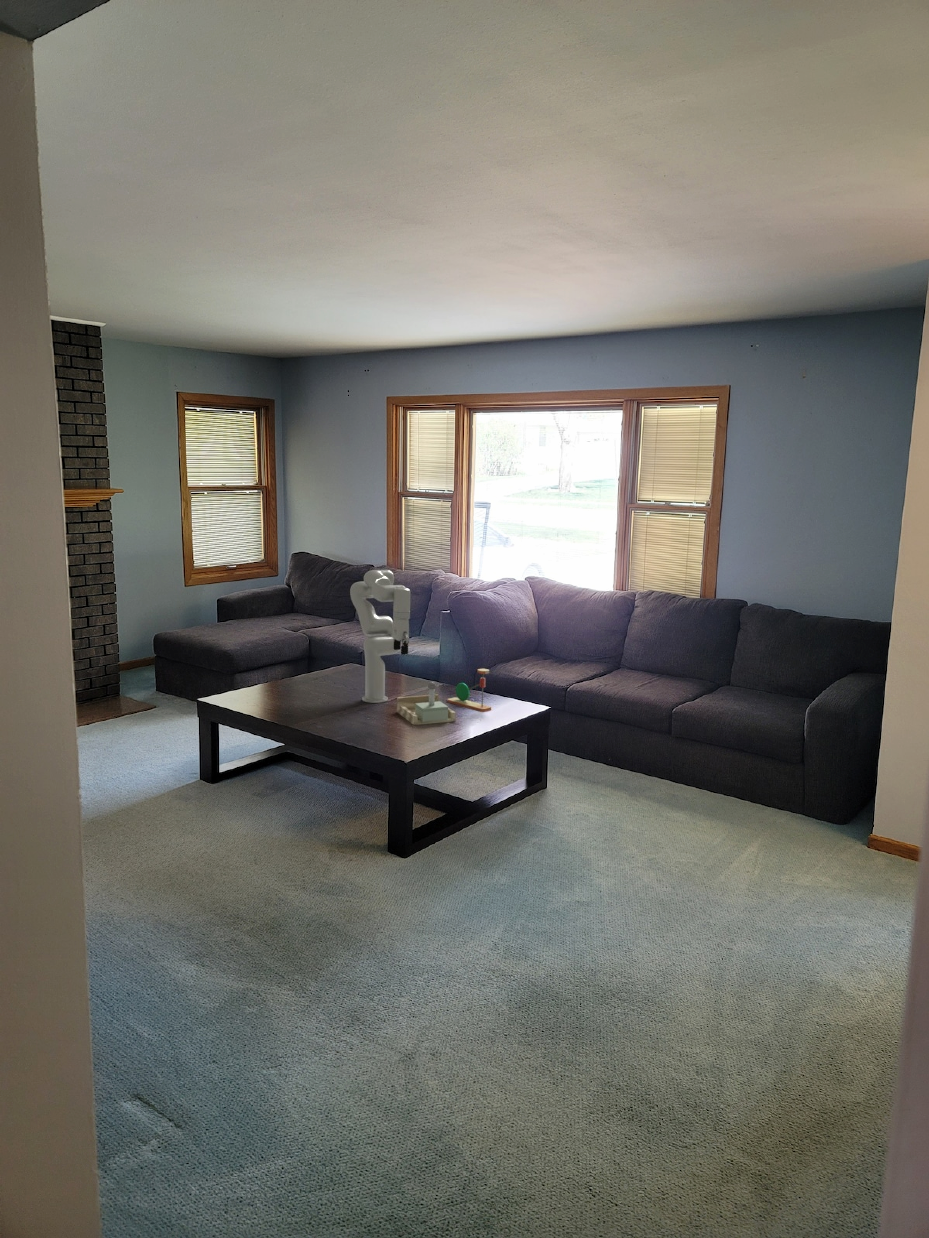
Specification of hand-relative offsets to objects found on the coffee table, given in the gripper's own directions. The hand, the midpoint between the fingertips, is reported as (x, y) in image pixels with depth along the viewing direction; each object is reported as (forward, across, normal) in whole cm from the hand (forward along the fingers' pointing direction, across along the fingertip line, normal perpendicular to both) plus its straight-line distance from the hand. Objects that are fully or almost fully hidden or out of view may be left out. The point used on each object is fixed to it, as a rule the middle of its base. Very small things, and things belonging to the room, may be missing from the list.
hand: (400, 651), depth 401 cm
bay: (+29, +8, +10) cm, 32 cm away
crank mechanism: (+30, -3, +37) cm, 48 cm away
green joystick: (+28, +15, +10) cm, 33 cm away
